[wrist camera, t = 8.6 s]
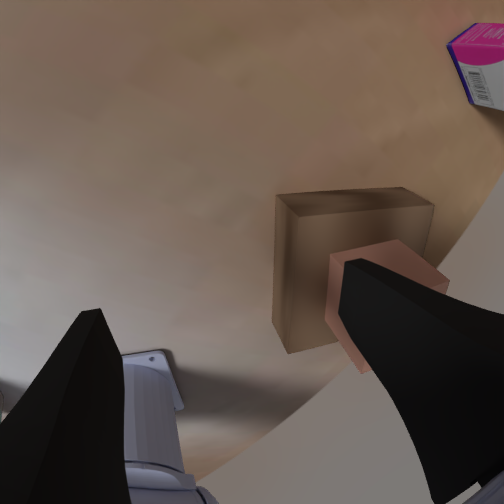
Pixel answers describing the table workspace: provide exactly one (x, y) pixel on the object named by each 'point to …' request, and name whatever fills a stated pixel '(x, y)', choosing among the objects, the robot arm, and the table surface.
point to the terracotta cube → (387, 256)
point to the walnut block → (332, 249)
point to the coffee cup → (1, 405)
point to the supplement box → (481, 63)
